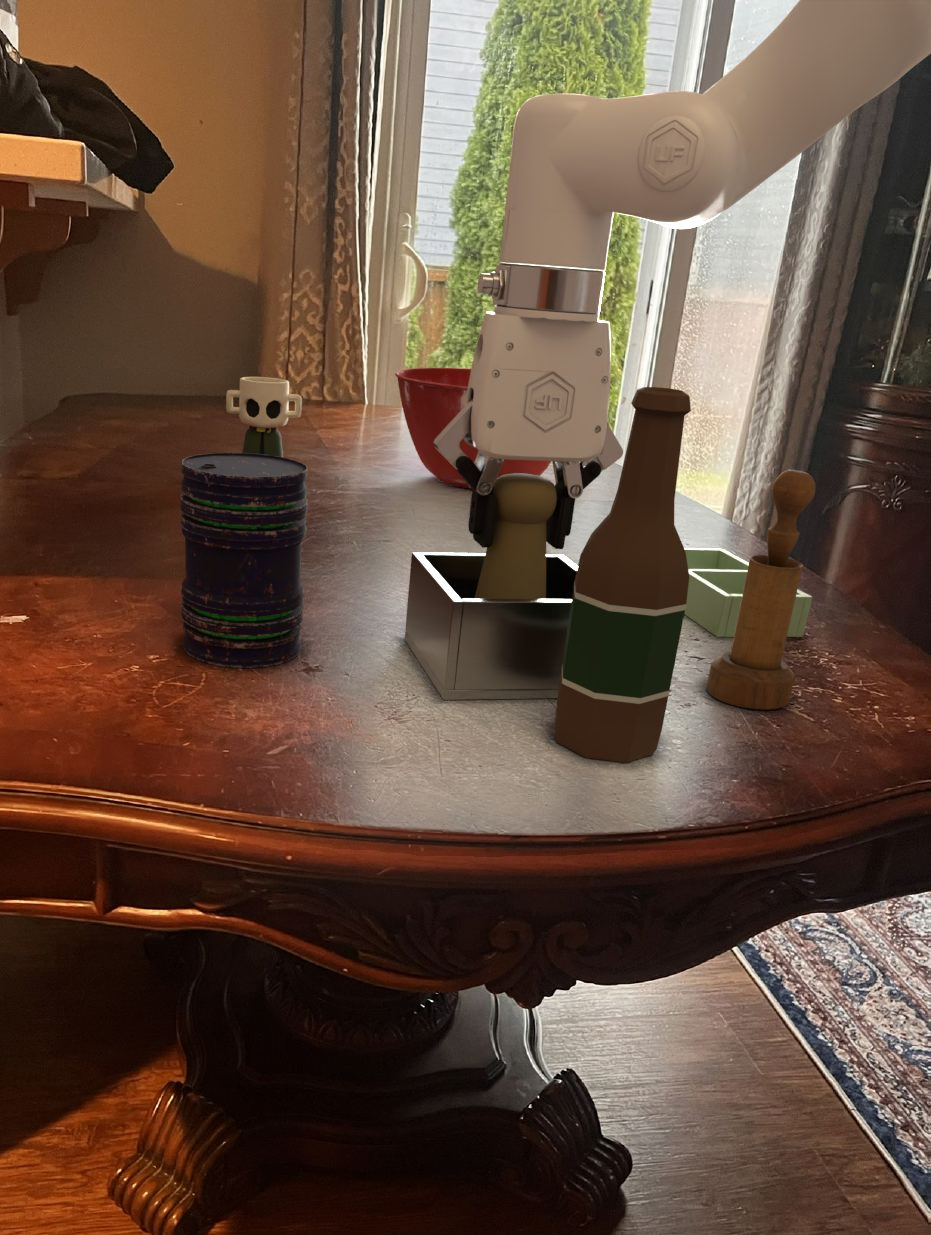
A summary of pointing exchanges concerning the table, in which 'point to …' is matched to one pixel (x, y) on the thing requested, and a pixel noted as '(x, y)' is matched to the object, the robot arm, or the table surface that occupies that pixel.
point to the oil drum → (242, 558)
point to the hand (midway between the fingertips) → (517, 541)
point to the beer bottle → (629, 598)
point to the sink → (486, 629)
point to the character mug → (263, 412)
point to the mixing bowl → (444, 420)
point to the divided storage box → (727, 592)
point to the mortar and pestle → (766, 610)
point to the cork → (518, 539)
